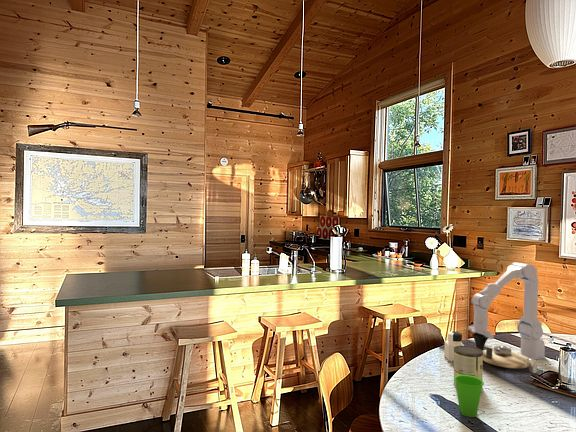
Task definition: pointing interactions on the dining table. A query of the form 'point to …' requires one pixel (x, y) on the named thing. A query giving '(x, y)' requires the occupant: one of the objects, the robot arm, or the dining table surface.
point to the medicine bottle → (452, 344)
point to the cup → (468, 394)
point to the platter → (505, 359)
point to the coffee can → (468, 361)
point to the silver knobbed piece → (531, 365)
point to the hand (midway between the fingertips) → (480, 350)
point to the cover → (502, 350)
